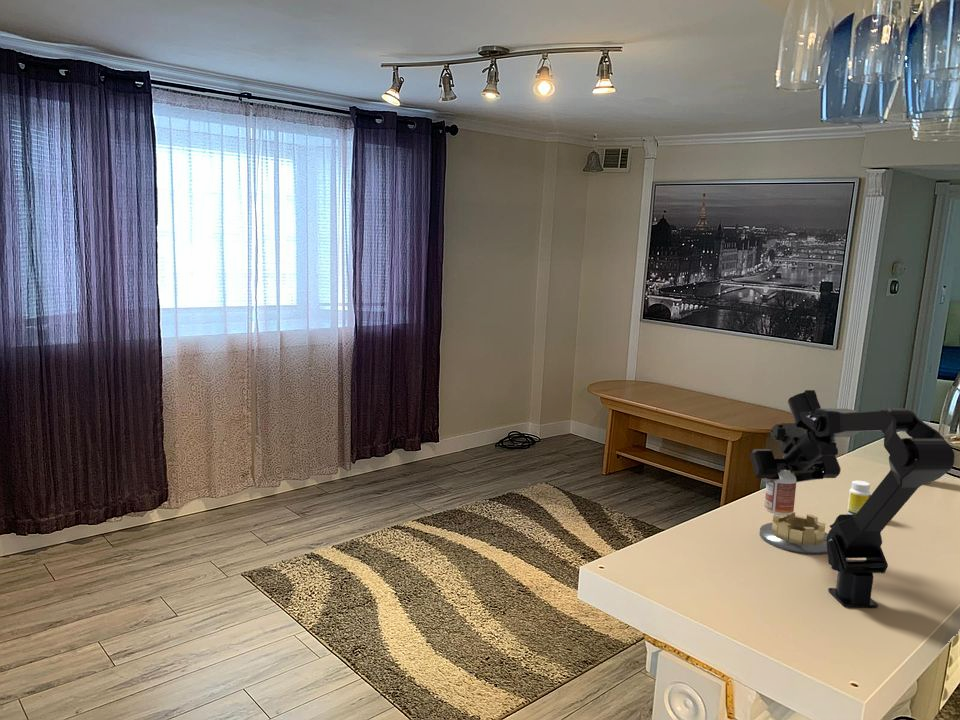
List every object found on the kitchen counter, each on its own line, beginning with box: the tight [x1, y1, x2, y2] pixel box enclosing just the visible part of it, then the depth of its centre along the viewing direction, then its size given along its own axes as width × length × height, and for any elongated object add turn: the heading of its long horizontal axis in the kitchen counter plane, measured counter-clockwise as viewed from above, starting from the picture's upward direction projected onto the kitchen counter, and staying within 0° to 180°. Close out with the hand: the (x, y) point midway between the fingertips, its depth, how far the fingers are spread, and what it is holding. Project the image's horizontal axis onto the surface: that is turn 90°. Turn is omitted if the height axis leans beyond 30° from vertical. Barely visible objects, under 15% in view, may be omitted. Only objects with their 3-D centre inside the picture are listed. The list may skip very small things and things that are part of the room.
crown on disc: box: [759, 510, 829, 556], centre depth 165 cm, size 16×16×5 cm
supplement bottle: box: [846, 480, 872, 514], centre depth 182 cm, size 5×5×8 cm
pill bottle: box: [764, 470, 797, 515], centre depth 163 cm, size 6×6×11 cm
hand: (778, 480), depth 165 cm, fingers closed on pill bottle, 6 cm apart
